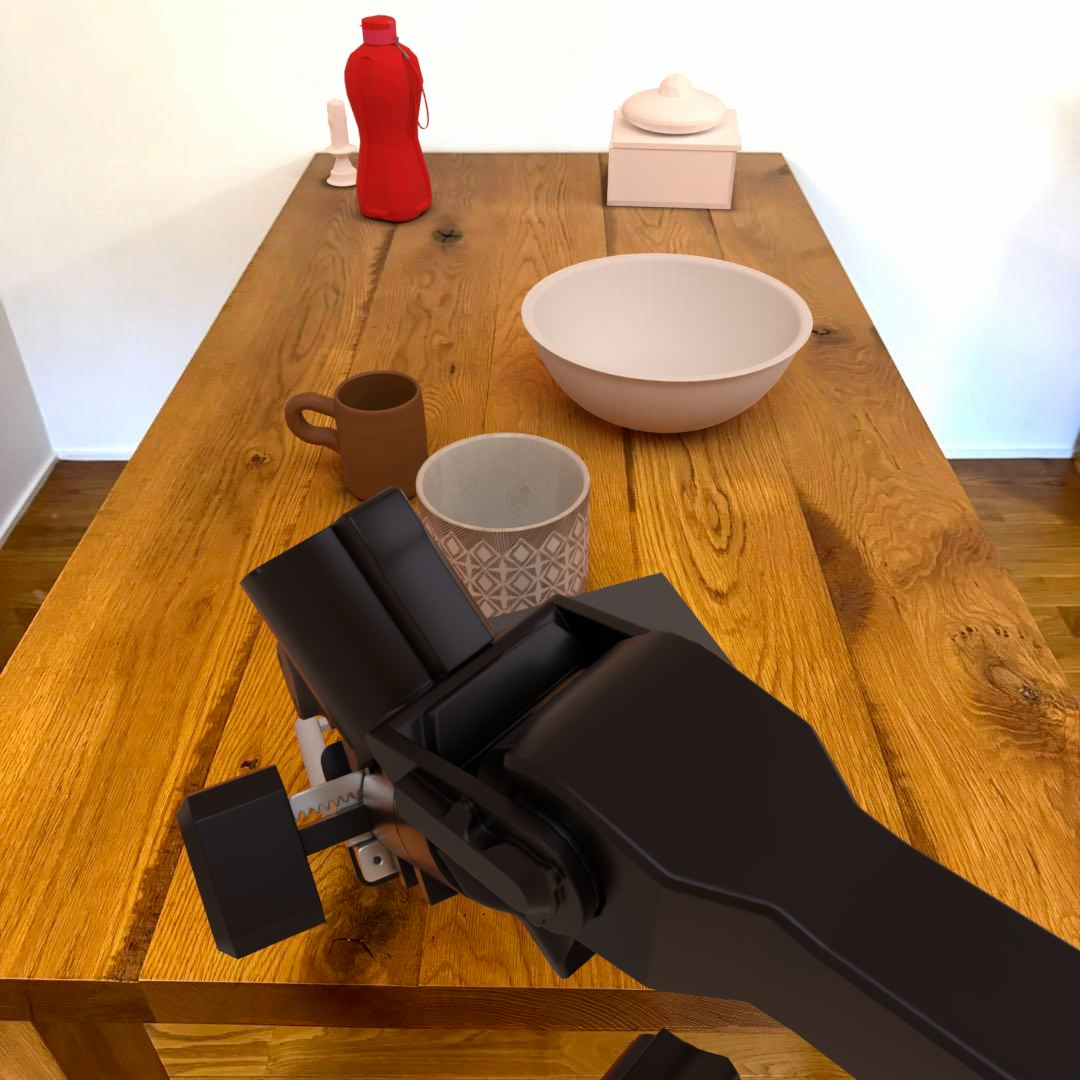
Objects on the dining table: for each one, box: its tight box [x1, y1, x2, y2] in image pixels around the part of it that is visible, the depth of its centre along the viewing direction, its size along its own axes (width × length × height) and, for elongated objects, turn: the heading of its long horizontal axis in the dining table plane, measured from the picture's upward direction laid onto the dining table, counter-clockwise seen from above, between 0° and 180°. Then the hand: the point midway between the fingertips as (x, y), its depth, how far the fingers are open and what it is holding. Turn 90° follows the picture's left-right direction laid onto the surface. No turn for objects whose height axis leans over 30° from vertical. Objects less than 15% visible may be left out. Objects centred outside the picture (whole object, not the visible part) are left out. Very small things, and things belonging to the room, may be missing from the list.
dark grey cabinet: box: [488, 571, 737, 712], centre depth 66 cm, size 14×12×9 cm
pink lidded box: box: [606, 72, 743, 210], centre depth 149 cm, size 18×18×16 cm
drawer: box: [293, 716, 335, 816], centre depth 63 cm, size 17×10×7 cm, turn 112°
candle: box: [324, 97, 358, 188], centre depth 153 cm, size 5×5×12 cm
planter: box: [416, 432, 591, 619], centre depth 79 cm, size 13×13×10 cm
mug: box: [284, 369, 429, 502], centre depth 90 cm, size 12×8×9 cm, turn 90°
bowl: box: [520, 252, 814, 434], centre depth 101 cm, size 27×27×10 cm
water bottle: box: [343, 14, 433, 223], centre depth 138 cm, size 9×11×25 cm
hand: (392, 780), depth 50 cm, fingers closed
